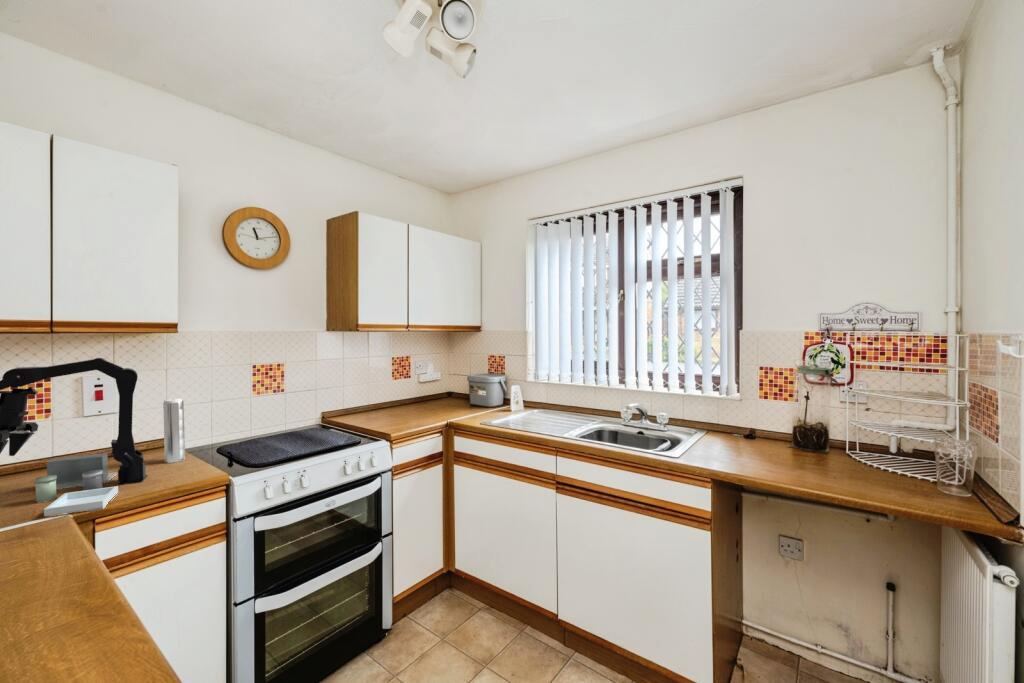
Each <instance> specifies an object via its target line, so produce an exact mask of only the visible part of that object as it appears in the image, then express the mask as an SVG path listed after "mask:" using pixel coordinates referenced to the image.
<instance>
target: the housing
mask: <svg viewBox="0 0 1024 683" xmlns="http://www.w3.org/2000/svg"><path fill="white" fill-rule="evenodd" d="M108 458H109V456H108V452H102V453H92V454H83V455H74V456H73V455H72V456H65V457H54V458H52V459H50V460H48V461H47V462H46V476H50V475H56V476H57V480H56V490H62V489H63V488H64V489H71V488H77V487H76V486H79V487H83V478H82V474H83V473H85V472H88V471H93V470H103V474H102V484H105V483H104V482H109V481H110V480H111V479H112V478H113V477H114V476H116V475H117V476H118V471H117V472H116V471H115V472H109V461H108V460H109V459H108ZM117 476H116V477H117ZM114 478H115V477H114ZM114 478H113V479H114ZM113 479H112V480H113ZM112 480H111V481H112ZM111 481H110V482H111ZM110 482H109V483H110ZM70 487H71V488H70ZM64 489H63V490H64Z"/></svg>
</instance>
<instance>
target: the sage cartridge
mask: <svg viewBox="0 0 1024 683" xmlns="http://www.w3.org/2000/svg"><path fill="white" fill-rule="evenodd" d="M56 480H57V476H56V475H50V476H47V475H44V476H40V477H37V478H34V480H33V482H34V484H35V487H34V488H35V502H36V501H37V502H42V503H45V502H44V501H48V502H51V501H50V500H52V501H54V500H57V499H58V498H57V489H56ZM53 499H54V500H53ZM37 502H36V503H37Z"/></svg>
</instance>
